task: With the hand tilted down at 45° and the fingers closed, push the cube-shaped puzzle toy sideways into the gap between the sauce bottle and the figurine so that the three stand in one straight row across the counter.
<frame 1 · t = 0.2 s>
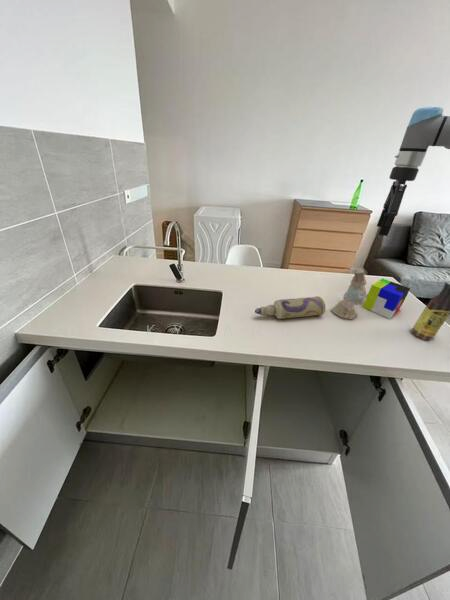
hand: (381, 230, 92), 28 cm above the worktop, tool pointing down, fingers open, 13 cm apart
decorative bottle: (288, 314, 91), on the worktop
figurine: (344, 314, 93), on the worktop
sauce bottle: (421, 335, 84), on the worktop
puzzle toy: (380, 308, 97), on the worktop
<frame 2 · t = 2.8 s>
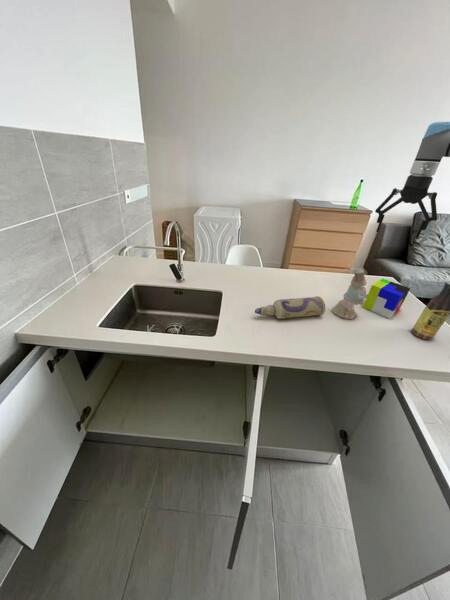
hand: (396, 234, 98), 25 cm above the worktop, tool pointing down, fingers open, 13 cm apart
nothing on the worktop moved.
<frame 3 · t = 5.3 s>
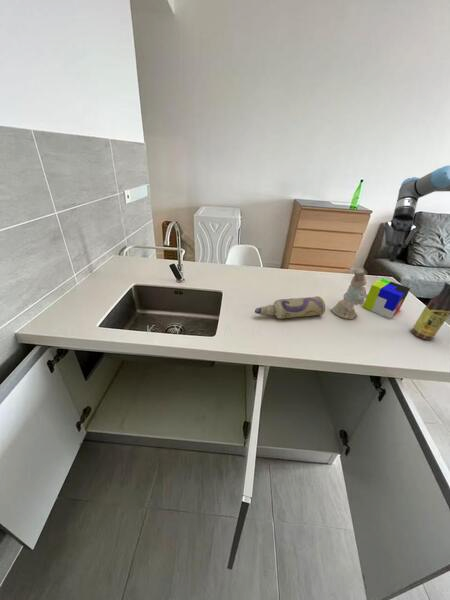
hand: (392, 260, 102), 15 cm above the worktop, tool tilted 45°, fingers closed
nothing on the worktop moved.
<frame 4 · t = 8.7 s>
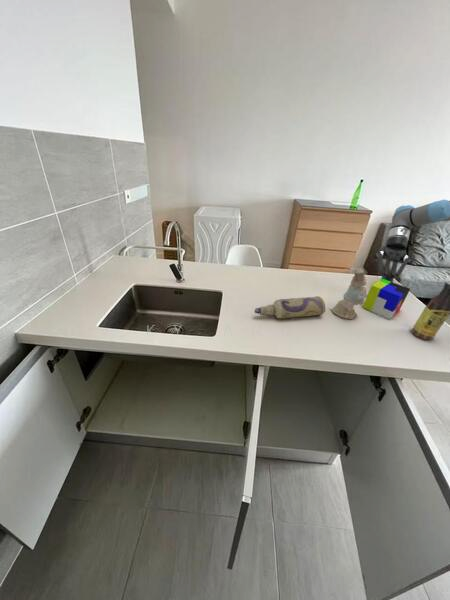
hand: (384, 291, 99), 5 cm above the worktop, tool tilted 45°, fingers closed
puzzle toy: (380, 309, 97), on the worktop, touching gripper
everything else where it was.
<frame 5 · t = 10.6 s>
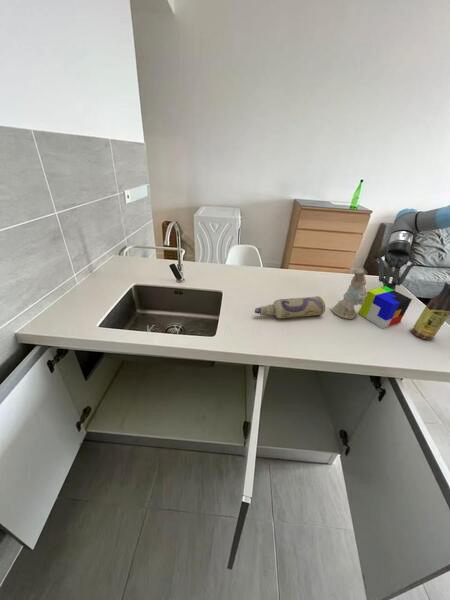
hand: (385, 299, 93), 5 cm above the worktop, tool tilted 45°, fingers closed
puzzle toy: (378, 318, 92), on the worktop, touching gripper
everything else where it was.
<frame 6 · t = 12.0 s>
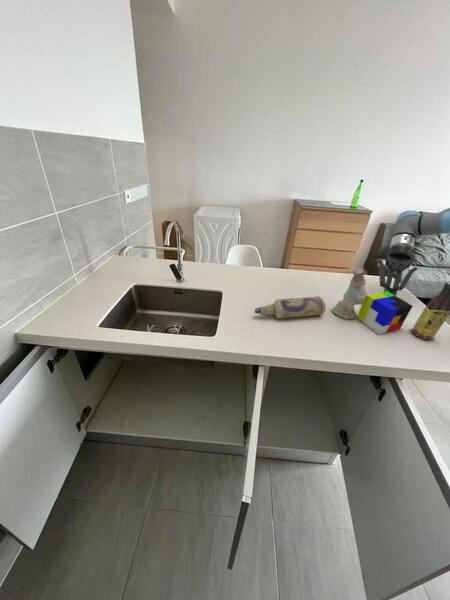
hand: (387, 305, 90), 5 cm above the worktop, tool tilted 45°, fingers closed
figurine: (344, 314, 93), on the worktop, touching puzzle toy
puzzle toy: (377, 323, 88), on the worktop, touching figurine, gripper
everything else where it was.
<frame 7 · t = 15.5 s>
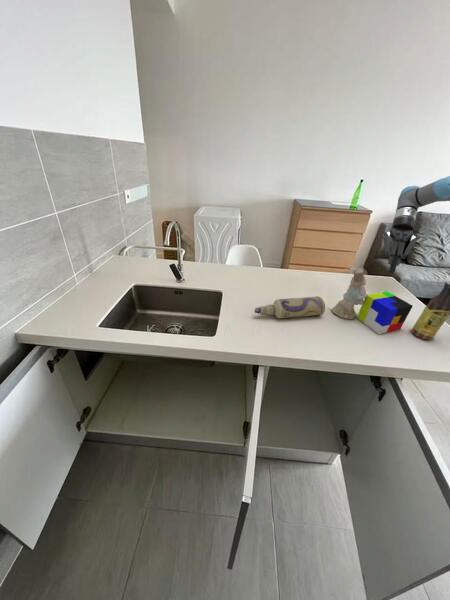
hand: (391, 271, 98), 13 cm above the worktop, tool tilted 45°, fingers closed
puzzle toy: (377, 323, 88), on the worktop, touching figurine
everything else where it was.
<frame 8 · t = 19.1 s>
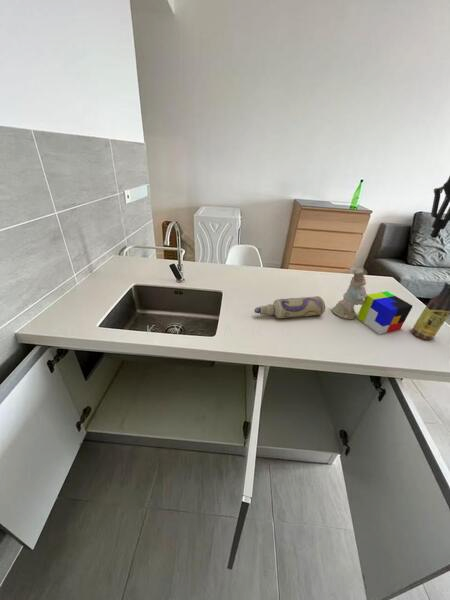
hand: (433, 236, 94), 26 cm above the worktop, tool pointing down, fingers closed
nothing on the worktop moved.
at the end: puzzle toy inside the target area (1.2 cm from its centre), on the worktop; puzzle toy tilted 0°; figurine moved 0.2 cm from its start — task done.
